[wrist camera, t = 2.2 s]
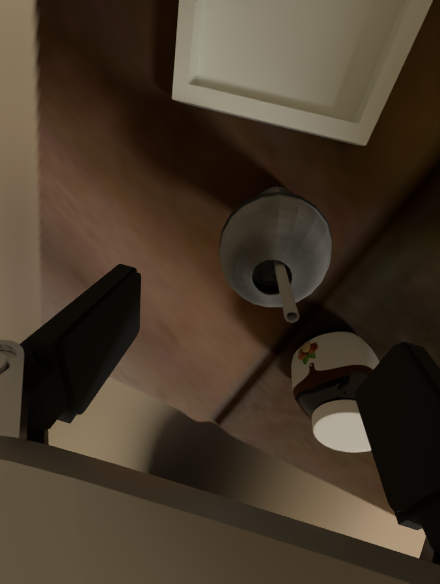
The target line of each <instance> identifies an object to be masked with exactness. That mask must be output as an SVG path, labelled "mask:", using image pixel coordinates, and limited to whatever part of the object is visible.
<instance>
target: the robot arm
mask: <svg viewBox="0 0 440 584" xmlns="http://www.w3.org/2000/svg"><path fill="white" fill-rule="evenodd" d="M140 295H141V274H140V273H137V270H136V268H134V267H130V266H126V265H123V264H119V265H117V266H116V267H115V268H113V269H112V270H111V271H110V272H108V273H107V274H106V275H105V276H104V277H102V278H101V279H100V280H99V281H97V282H96V283H95V284H94V285H92V286H91V287H90V288H89V289H87V290H86V291H85V292H84V293H83V294H81V295H80V296H79V297H78V298H76V299H75V300H74V301H73V302H71V303H70V304H69V305H68V306H66V307H65V308H64V309H63V310H61V311H60V312H59V313H58V314H57V315H55V316H54V317H53V318H52V319H50V320H49V321H48V322H47V323H45V324H44V325H43V326H42V327H40V328H39V329H38V330H37V331H35V332H34V333H33V334H32V335H31V336H29V337H28V338H27V339H26V340H24V341H23V342H22V343H21V344H18V343H16V342H13V341H9V340H0V584H440V369H439V367H438V366H437V364H436V363H435V362H434V360H433V359H432V358H431V356H430V355H429V353H428V352H427V351H426V349H424V348H423V347H421V346H418V345H414V344H410V343H407V342H402V343H400V344H398V345H397V344H396V345H394V346H393V347H392V348H391V349H390V350H389V352H388V353H387V354H386V355H385V356H384V358H383V359H382V360H381V361H380V362H379V363H378V365H377V366H376V367H375V368H374V369H373V371H372V372H371V373H370V374H369V375H368V376H367V378H366V379H365V380H364V381H363V382H362V384H361V385H360V386H359V387H358V388H357V390H356V392H355V400H356V403H357V407H358V410H359V413H360V416H361V419H362V422H363V425H364V429H365V432H366V435H367V438H368V441H369V444H370V447H371V451H372V454H373V457H374V460H375V463H376V466H377V469H378V473H379V476H380V479H381V482H382V485H383V488H384V492H385V495H386V498H387V501H388V503H389V505H390V507H391V508H392V509H393V510H394V512H395V515H396V518H397V521H398V524H399V525H403V526H406V527H409V528H412V529H415V530H419V529H421V528H423V530H424V532H425V535H426V538H425V542H424V545H423V548H422V552H421V555H420V558H419V559H418V558H416V557H412V556H409V555H406V554H403V553H400V552H396V551H393V550H390V549H387V548H384V547H381V546H378V545H375V544H371V543H368V542H365V541H362V540H359V539H356V538H352V537H349V536H346V535H343V534H340V533H336V532H333V531H330V530H327V529H324V528H321V527H317V526H314V525H311V524H308V523H304V522H301V521H298V520H295V519H292V518H289V517H285V516H282V515H279V514H276V513H272V512H269V511H266V510H263V509H260V508H256V507H253V506H250V505H247V504H244V503H240V502H237V501H234V500H231V499H228V498H224V497H221V496H218V495H215V494H211V493H208V492H205V491H202V490H198V489H195V488H192V487H189V486H185V485H182V484H179V483H175V482H172V481H169V480H166V479H162V478H159V477H156V476H153V475H149V474H146V473H143V472H139V471H136V470H133V469H130V468H126V467H123V466H120V465H116V464H113V463H109V462H106V461H103V460H99V459H96V458H92V457H89V456H85V455H82V454H78V453H75V452H71V451H68V450H64V449H60V448H57V447H54V446H50V445H49V444H48V429H50V428H51V427H52V425H53V424H54V423H55V422H56V420H60V421H63V422H67V423H71V422H72V420H73V419H74V417H75V416H76V415H77V414H79V415H80V414H82V413H83V412H84V411H85V410H86V409H87V407H88V406H89V404H90V403H91V401H92V400H93V398H94V397H95V396H96V394H97V393H98V391H99V390H100V388H101V387H102V385H103V384H104V383H105V381H106V379H107V378H108V377H109V375H110V374H111V373H112V371H113V370H114V368H115V367H116V365H117V364H118V362H119V361H120V360H121V358H122V357H123V355H124V354H125V352H126V351H127V349H128V348H129V347H130V345H131V344H132V342H133V341H134V339H135V338H136V336H137V334H138V332H139V328H140Z"/></svg>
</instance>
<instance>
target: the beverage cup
mask: <svg viewBox="0 0 440 584" xmlns="http://www.w3.org/2000/svg"><path fill="white" fill-rule="evenodd" d="M219 247H220V250H219V255H220V262H221V268H222V271H223V274H224V275H225V277H226V279H227V281H228V283H229V285H230V286H231V287H232V288H233V289H234V290H235V291H236V292H237V293H238V294H239V295H240V296H241V297H242V298H244V299H246V300H248V301H249V302H251V303H253V304H256V305H260V306H264V307H283V312H284V317H285V319H286V321H287V322H290V323H293V322H296V321H298V319H299V313H298V310H297V307H296V302H298V301H300V300H302V299H303V298H305V297H307V296H308V295H310V294H311V293H312V292H313V291H314V290H315V289H316V288H317V286H318V285H319V284H320V283H321V282H322V280H323V278H324V276H325V274H326V272H327V269H328V267H329V265H330V258H331V248H332V235H331V231H330V228H329V224H328V221H327V219H326V218H325V217H324V215H323V214H322V213H321V211H320V210H319V209H318V208H317V206H316V205H314V204H312V203H311V202H309V201H308V200H306V199H304V198H303V197H301V196H299V195H295V194H294V193H293V192H291V191H289V190H288V189H286V188H282V187H271V188H269V189H267V190H265V191H263V192H262V193H260V194H259V195H258V196H256V197H254V198H251V199H249V200H247V201H245V202H243V203H242V204H241V205H240V206H239V207H238V208H237V209H236V210H235V211H234V212H233V213H232V214H230V216H229V218H228V220H227V222H226V223H225V225H224V227H223V229H222V233H221V239H220V245H219Z"/></svg>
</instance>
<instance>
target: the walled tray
mask: <svg viewBox="0 0 440 584" xmlns="http://www.w3.org/2000/svg"><path fill="white" fill-rule="evenodd" d="M432 2H433V0H179V9H178V23H177V36H176V50H175V64H174V77H173V91H172V99H173V100H176V101H178V102H181V103H183V104H187V105H192V106H196V107H200V108H204V109H208V110H212V111H216V112H221V113H225V114H229V115H233V116H237V117H241V118H245V119H250V120H254V121H258V122H262V123H266V124H270V125H274V126H279V127H283V128H287V129H291V130H295V131H299V132H303V133H308V134H312V135H316V136H320V137H324V138H328V139H332V140H337V141H341V142H345V143H349V144H353V145H361V146H366V145H367V142H368V140H369V138H370V136H371V134H372V132H373V129H374V127H375V125H376V123H377V121H378V119H379V116H380V114H381V112H382V110H383V108H384V106H385V103H386V101H387V99H388V97H389V95H390V93H391V90H392V88H393V86H394V84H395V82H396V80H397V77H398V75H399V73H400V71H401V69H402V67H403V64H404V62H405V60H406V58H407V56H408V54H409V51H410V49H411V47H412V45H413V43H414V41H415V38H416V36H417V34H418V32H419V30H420V28H421V25H422V23H423V21H424V19H425V17H426V15H427V12H428V10H429V8H430V6H431V4H432Z"/></svg>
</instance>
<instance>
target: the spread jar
mask: <svg viewBox="0 0 440 584" xmlns="http://www.w3.org/2000/svg"><path fill="white" fill-rule="evenodd" d="M378 363H379V360H378V358H377V357H376V355H375V354H374V352H373V350H372V349H371V348H370V347H369V346H368V344H367V343H366V342H365V341H364V340H362V339H361V338H360V337H358V336H357V335H355V334H353V333H351V332H348V331H343V330H328V331H323V332H319V333H317V334H314V335H312V336H311V337H309V338H308V339H307V340H305V341H304V342H303V343H302V344H301V346H300V347H299V348H298V349H297V351H296V352H295V354H294V356H293V359H292V364H291V374H292V388H293V393H294V397H295V400H296V401H297V403H298V405H299V406H300V408H301V409H302V411H303V412H304V413H305V414H306V415H307V416H308V417H309V418H310V419H311V420H312V426H313V433H314V435H315V437H316V438H317V440H318V441H319V442H321V443H322V444H324V445H325V446H327V447H330V448H332V449H335V450H339V451H344V452H365V451H370V450H371V447H370V444H369V441H368V438H367V435H366V432H365V429H364V425H363V422H362V419H361V416H360V413H359V410H358V407H357V403H356V400H355V392H356V390H357V388H358V387H359V386H360V385H361V384H362V382H363V381H364V380H365V379H366V378H367V376H368V375H369V374H370V373H371V372H372V371H373V369H374V368H375V367H376V366H377V365H378Z"/></svg>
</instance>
